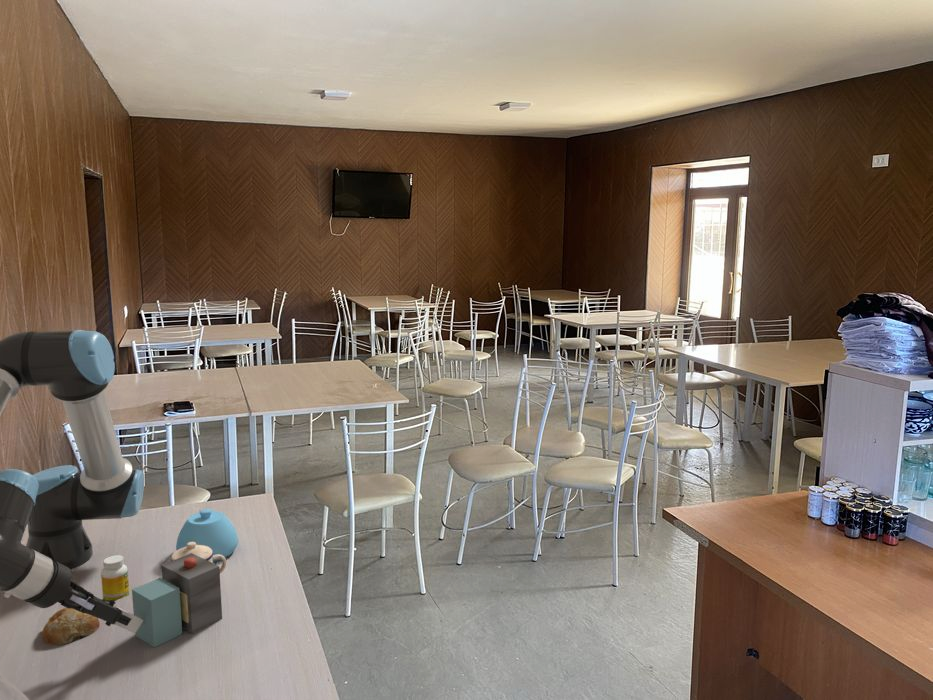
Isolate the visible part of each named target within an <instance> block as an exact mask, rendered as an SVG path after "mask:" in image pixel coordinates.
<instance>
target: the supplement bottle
mask: <svg viewBox="0 0 933 700" xmlns="http://www.w3.org/2000/svg"><path fill="white" fill-rule="evenodd" d="M124 561H125V560H124V556H122V555H119V554H118V555H112V556H108V557H106V558H105V559H104V560H103V569H102V570H101V573H100V578H101V588H102V589H101V590H102V599H103V600H105V602H106V603H110V601H111V600H112V601H114V602H116V601H118V600H121V599H123V598H126V597H128V596H130V584H129V570H128V566H127V565H126V564H124V563H125V562H124Z"/></svg>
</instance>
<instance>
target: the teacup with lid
mask: <svg viewBox="0 0 933 700" xmlns="http://www.w3.org/2000/svg"><path fill="white" fill-rule="evenodd" d="M190 553H192V554H195V555H197V556H199V557H201V558H203V559H205V560H207V561H209V562H211V563H214V562H213V561H212V560H214V559H218V558H220V559H222V564H221V566H220V567H219V568H220V575H221V574H222V573H223V572H224V571H225V569H226V567H227V559H226V558H225V557H224V556H223V555H220V554H217V555H213V551H212V549H211V548H209V547H208V546H204V545H196V543H195V542H189V543H187V546H186V547H183V548H181V549H179V550H177V551H176V550H175V551H174V552H173V553H172V555H171V557H170V561H173V560H175V559H178V558H180V557H183V556H185V555H188V554H190Z"/></svg>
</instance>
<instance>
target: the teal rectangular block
mask: <svg viewBox="0 0 933 700" xmlns="http://www.w3.org/2000/svg"><path fill="white" fill-rule="evenodd" d="M131 595H132V596H131V597H132V610H133V615H135V616H137V617H139V618H141V619H143V620H144V621H143V622H142V624H141V625H140V627H139V628H138V630H137V631H136V633H134V635H135V637H137V638H139V639H140V640H141V641H143V642H145V643H146V644H148V645H149V646H151V647H152V648H157V647H159V646H161V645H163V644H165V643H167V642H169V641H171V640H173V639H175V638H177V637H179V636H181V635H182V634H183V628H182V621H181V606H180V590H179V588H178V587H176V586H175V585H173V584H171V583H169V582H167V581H165V580H163V579H162V577H159V578H156V579H154V580H151V581H149V582H146V583H144V584H142V585H139V586H137V587H134V588H132V589H131Z"/></svg>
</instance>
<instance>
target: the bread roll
mask: <svg viewBox="0 0 933 700" xmlns="http://www.w3.org/2000/svg"><path fill="white" fill-rule="evenodd" d="M99 628H100V621H99V618H97V617H94V616H92V615H89V614H86V613H82V612H79V611H77V610H75V609H73V608H70V609H69V608H66V607H64V608H62V609H59V610H58V611H57V612H54V614H53V615H52V616H50V617H49V618H48V621H47V622H46V623H45V625H44V626H43V629H42V633H41V637H42V638H43V641H44V643H46V644H47V645H59V646H60V645H66V644H71V642H73V641H75V640H79V639H80V640H81V639H84V638H86V637H87V636H88V637H90V635H93V634H95V632H97V631H98V630H99Z"/></svg>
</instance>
